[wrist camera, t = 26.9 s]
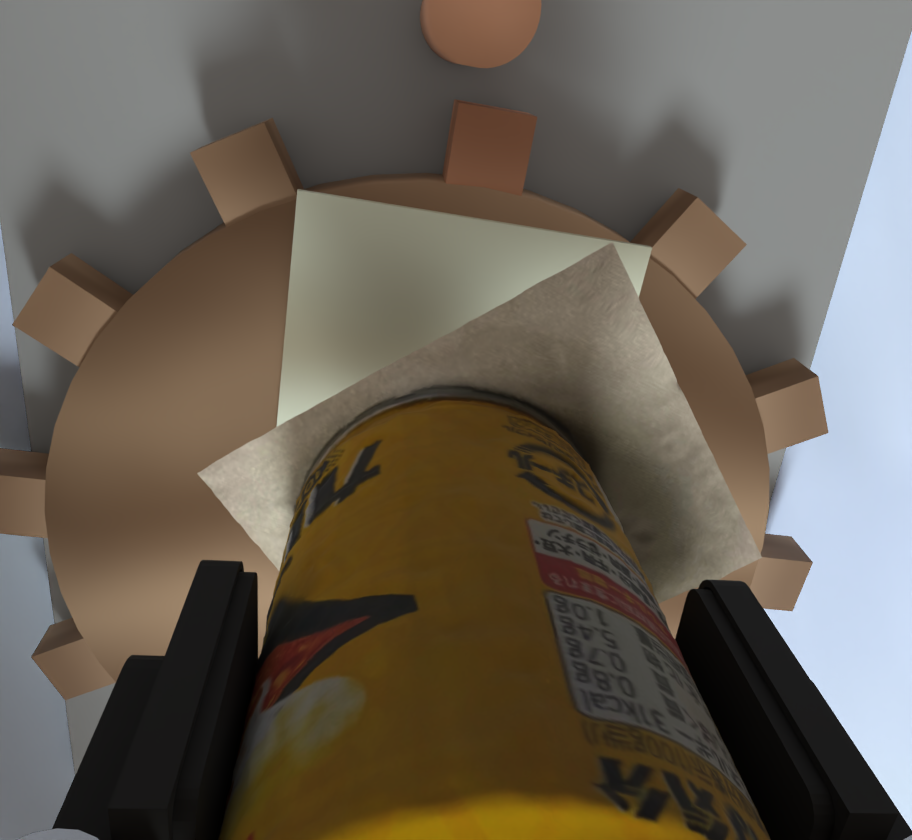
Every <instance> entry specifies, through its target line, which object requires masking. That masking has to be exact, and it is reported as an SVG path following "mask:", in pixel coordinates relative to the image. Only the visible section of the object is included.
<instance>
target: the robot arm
mask: <svg viewBox="0 0 912 840" xmlns="http://www.w3.org/2000/svg"><path fill="white" fill-rule="evenodd" d="M675 640H676V642H677V644H678V646H679V649H680V651H681V653H682V656H683V658H684V661H685V663H686V665H687V666H688V669H689V671H690V674H691V676H692V678H693V680H694V682H695V684H696V686H697V689H698V691H699V693H700V694H701V697H702V699H703V701H704V703H705V704H706V706H707V708H708V710H709V712H710V715H711V717H712V719H713V721H714V723H715V725H716V727H717V729H718V731H719V733H720V736H721V738H722V740H723V742H724V744H725V745H726V747H727V749H728V751H729V753H730V754H731V757H732V759H733V762H734V764H735V767H736V769H737V770H738V772H739V774H740V776H741V778H742V781H743V782H744V784H745V786H746V788H747V791H748V793H749V795H750V797H751V800H752V801H753V803H754V805H755V807H756V809H757V811H758V814H759V816H760V818H761V820H762V822H763V824H764V826H765V828H766V830H767V833H768V835H769V837H770V839H771V840H912V830H911V829H910V827H909V826H908V824H907V823H906V821H905V820H904V818H903V817H902V815H901V814H900V812H899V811H898V809H897V808H896V806H895V805H894V803H893V802H892V800H891V799H890V797H889V796H888V794H887V793H886V791H885V790H884V788H883V787H882V785H881V784H880V782H879V781H878V779H877V778H876V776H875V775H874V773H873V772H872V770H871V769H870V767H869V766H868V764H867V763H866V761H865V760H864V758H863V757H862V755H861V754H860V752H859V751H858V749H857V748H856V746H855V745H854V743H853V741H852V740H851V738H850V737H849V735H848V734H847V732H846V731H845V729H844V728H843V726H842V725H841V723H840V722H839V720H838V719H837V717H836V716H835V714H834V713H833V711H832V710H831V708H830V707H829V705H828V704H827V702H826V701H825V699H824V698H823V696H822V695H821V693H820V692H819V690H818V689H817V687H816V686H815V684H814V683H813V682H812V681H811V680H810V679H809V677H808V676H807V674H806V673H805V671H804V669H803V668H802V666H801V665H800V663H799V662H798V660H797V659H796V657H795V656H794V654H793V653H792V651H791V650H790V648H789V647H788V645H787V644H786V642H785V641H784V639H783V638H782V636H781V635H780V633H779V632H778V630H777V629H776V627H775V626H774V624H773V623H772V621H771V620H770V618H769V617H768V615H767V614H766V612H765V611H764V609H763V608H762V606H761V605H760V603H759V601H758V600H757V598H756V597H755V595H754V594H753V592H752V591H751V589H750V588H749V586H748V585H747V584H746V583H745V582H742V581H732V580H707V579H706V580H704V581H702V582H701V584H700V585H699V588H698V589H691V590H690V591H689V592H688V594H687V597H686V600H685V604H684V608H683V612H682V615H681V619H680V623H679V626H678V630H677V634H676V638H675ZM257 661H258V576H257V573H256V572H244V566H243V562H242V561H223V560H201V561H200V563H199V565H198V568H197V571H196V573H195V576H194V579H193V581H192V584H191V587H190V589H189V592H188V595H187V597H186V600H185V603H184V605H183V608H182V611H181V613H180V616H179V619H178V621H177V624H176V627H175V630H174V632H173V635H172V638H171V640H170V643H169V646H168V648H167V651H166V654H165V656H153V655H131V656H130V657H129V658H128V659H127V660H126V662H125V664H124V665H123V667H122V669H121V672H120V674H119V676H118V679H117V681H116V683H115V686H114V688H113V690H112V692H111V695H110V697H109V699H108V702H107V704H106V706H105V709H104V711H103V713H102V715H101V718H100V720H99V722H98V725H97V727H96V729H95V732H94V734H93V736H92V738H91V741H90V743H89V745H88V748H87V750H86V752H85V755H84V757H83V759H82V761H81V764H80V766H79V768H78V771H77V773H76V775H75V777H74V780H73V782H72V784H71V787H70V789H69V791H68V794H67V796H66V798H65V800H64V803H63V805H62V807H61V810H60V812H59V814H58V817H57V819H56V821H55V823H54V826H53V828H52V829H51V830H45V831H39V832H34V833H31V834H29V835H26V836H24V837H21V838H19V839H17V840H218V837H219V833H220V829H221V825H222V822H223V818H224V813H225V806H226V799H227V796H228V793H229V791H230V788H231V783H232V776H233V770H234V767H235V764H236V759H237V754H238V750H239V746H240V742H241V737H242V734H243V730H244V724H245V717H246V713H247V708H248V706H249V703H250V698H251V686H252V681H253V676H254V672H255V669H256V665H257Z"/></svg>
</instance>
